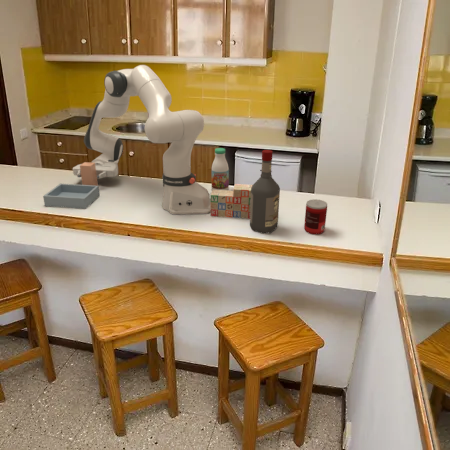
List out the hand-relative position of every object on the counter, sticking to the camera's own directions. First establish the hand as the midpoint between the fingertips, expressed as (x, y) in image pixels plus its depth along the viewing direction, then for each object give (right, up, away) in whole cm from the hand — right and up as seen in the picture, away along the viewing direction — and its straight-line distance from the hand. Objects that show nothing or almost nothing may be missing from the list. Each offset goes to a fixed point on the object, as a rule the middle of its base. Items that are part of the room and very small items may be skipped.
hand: (88, 176), depth 204 cm
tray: (-4, -11, -9) cm, 15 cm away
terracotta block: (0, -6, +3) cm, 7 cm away
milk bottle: (+59, -7, +1) cm, 60 cm away
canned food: (+95, -24, -33) cm, 104 cm away
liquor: (+76, -23, -32) cm, 86 cm away
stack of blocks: (+67, -18, -21) cm, 72 cm away
